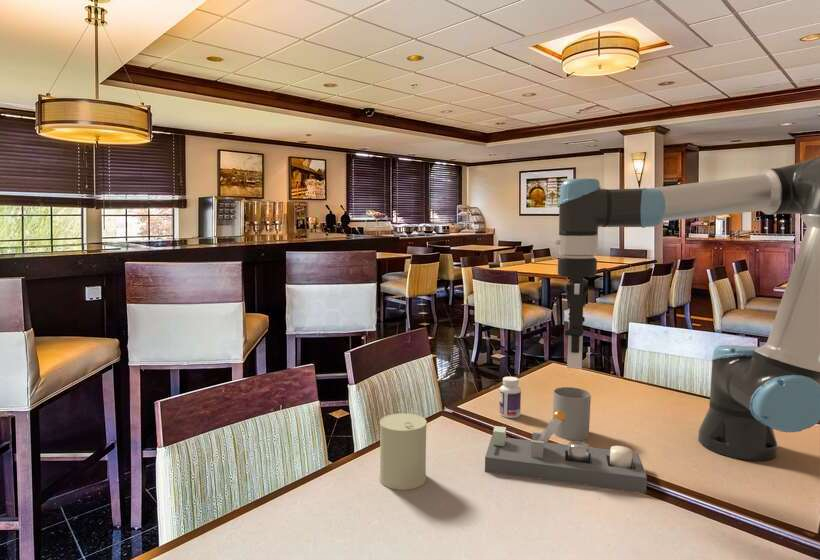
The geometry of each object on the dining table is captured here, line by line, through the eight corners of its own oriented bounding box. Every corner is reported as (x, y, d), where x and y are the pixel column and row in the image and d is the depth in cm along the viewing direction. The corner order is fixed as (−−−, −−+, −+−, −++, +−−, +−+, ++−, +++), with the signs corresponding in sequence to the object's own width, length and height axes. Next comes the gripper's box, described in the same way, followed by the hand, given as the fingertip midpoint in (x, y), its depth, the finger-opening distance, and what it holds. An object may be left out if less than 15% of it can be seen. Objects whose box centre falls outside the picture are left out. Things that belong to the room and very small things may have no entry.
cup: (590, 441, 121) (592, 399, 120) (553, 438, 123) (555, 397, 122) (586, 428, 130) (587, 388, 128) (551, 425, 131) (552, 386, 130)
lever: (542, 447, 110) (567, 413, 108) (542, 453, 107) (567, 418, 105) (532, 441, 110) (557, 406, 108) (532, 446, 107) (557, 411, 105)
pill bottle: (523, 413, 139) (524, 377, 138) (515, 420, 134) (516, 383, 133) (503, 409, 142) (505, 374, 141) (495, 415, 137) (496, 379, 136)
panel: (637, 467, 109) (639, 438, 108) (646, 493, 98) (647, 461, 98) (491, 449, 117) (492, 422, 116) (484, 471, 106) (485, 441, 106)
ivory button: (629, 463, 106) (630, 447, 106) (632, 472, 102) (633, 455, 102) (608, 461, 107) (609, 444, 107) (610, 470, 103) (611, 452, 103)
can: (391, 494, 97) (392, 431, 96) (371, 473, 105) (371, 415, 104) (435, 483, 101) (436, 423, 100) (412, 464, 109) (413, 407, 108)
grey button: (587, 458, 108) (588, 442, 108) (588, 467, 104) (589, 450, 104) (567, 456, 109) (568, 440, 109) (567, 464, 105) (568, 447, 105)
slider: (505, 440, 114) (506, 427, 113) (504, 446, 111) (504, 432, 111) (494, 439, 114) (494, 425, 114) (492, 444, 112) (493, 431, 111)
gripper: (559, 253, 120) (557, 345, 122) (556, 260, 96) (553, 374, 98) (594, 253, 117) (591, 347, 120) (600, 261, 94) (596, 377, 96)
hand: (574, 359), depth 109 cm, fingers open, 13 cm apart
